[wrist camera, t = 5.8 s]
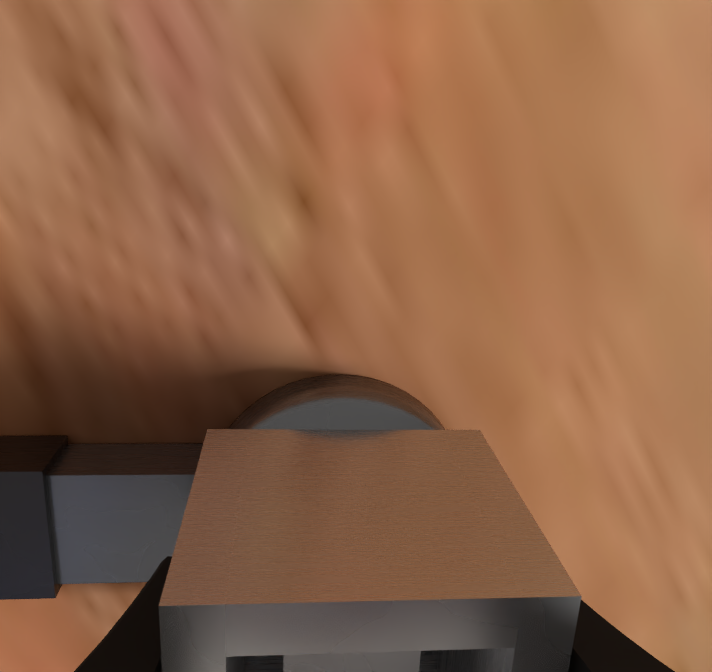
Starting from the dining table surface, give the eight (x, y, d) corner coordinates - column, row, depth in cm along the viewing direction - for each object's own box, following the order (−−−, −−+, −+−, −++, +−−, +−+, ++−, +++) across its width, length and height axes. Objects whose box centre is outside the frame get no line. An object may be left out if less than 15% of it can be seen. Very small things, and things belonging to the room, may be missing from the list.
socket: (212, 655, 15) (174, 912, 10) (207, 429, 13) (158, 605, 8) (455, 647, 15) (530, 888, 10) (479, 430, 14) (581, 596, 9)
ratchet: (471, 375, 15) (545, 476, 11) (448, 595, 17) (503, 757, 13) (-192, 369, 14) (-412, 484, 9) (-140, 611, 16) (-306, 800, 11)
